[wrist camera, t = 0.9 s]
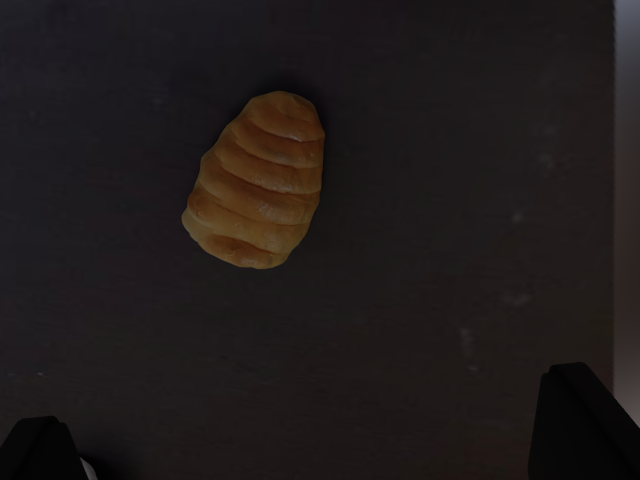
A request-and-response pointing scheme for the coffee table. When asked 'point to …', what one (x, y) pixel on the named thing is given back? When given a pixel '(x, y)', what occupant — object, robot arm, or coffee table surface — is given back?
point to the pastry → (259, 183)
